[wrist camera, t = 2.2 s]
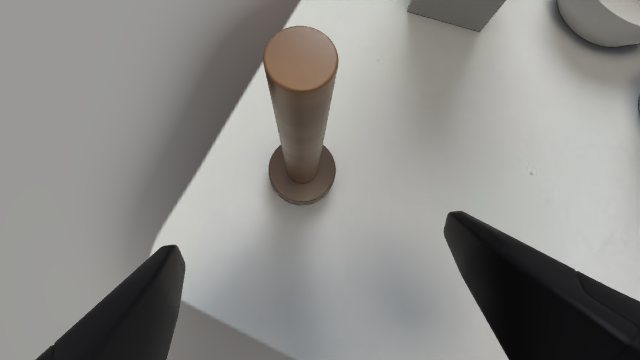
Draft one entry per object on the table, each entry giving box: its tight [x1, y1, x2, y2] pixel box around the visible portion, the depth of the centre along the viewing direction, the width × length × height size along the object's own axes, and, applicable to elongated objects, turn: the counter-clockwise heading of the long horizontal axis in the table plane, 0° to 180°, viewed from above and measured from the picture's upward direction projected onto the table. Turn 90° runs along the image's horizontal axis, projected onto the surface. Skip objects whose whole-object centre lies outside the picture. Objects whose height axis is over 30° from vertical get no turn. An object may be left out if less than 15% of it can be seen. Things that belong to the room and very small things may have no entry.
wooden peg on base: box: [263, 26, 338, 205], centre depth 15 cm, size 5×5×14 cm
